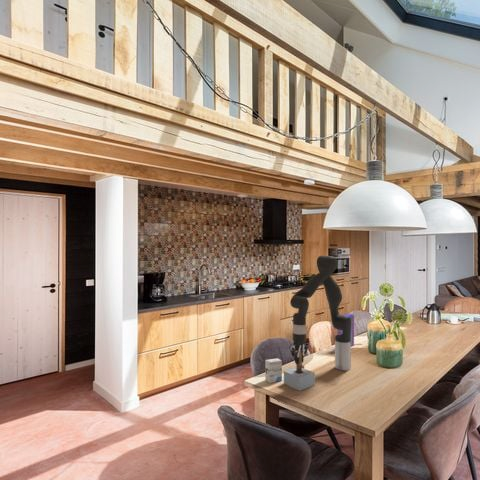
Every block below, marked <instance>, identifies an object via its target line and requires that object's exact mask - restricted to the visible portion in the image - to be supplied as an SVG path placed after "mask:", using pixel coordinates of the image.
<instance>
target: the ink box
mask: <svg viewBox="0 0 480 480" xmlns="http://www.w3.org/2000/svg"><path fill="white" fill-rule="evenodd" d="M264 363H265V365H264V366H265V373H264V375H265V378H264V379H265V381H266V382H267V383H269V384H270V383H277V382H282V381H283V380H282V378H283V375H282V374H283V372H282V371H283V361H282V360H281V359H280V358H277V357H276V358H270V359H265V361H264Z"/></svg>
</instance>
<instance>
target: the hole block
mask: <svg viewBox="0 0 480 480" xmlns="http://www.w3.org/2000/svg"><path fill="white" fill-rule="evenodd" d="M315 373H316V372H314V371H311V370H309V369H305V367H304V368H302V373H301V374H298V373H296V367H293V368H290V369H286V370H283V384H284V385H285V386H288V387H291V388H292V389H295V390H297V391H299V392H300V391H303V390H305V389H306V390H307V389H308V388H312V387H314V386H315V385H316V384H315V382H316V381H315V379H316V378H315V377H316V374H315Z"/></svg>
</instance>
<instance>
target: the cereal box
mask: <svg viewBox="0 0 480 480" xmlns="http://www.w3.org/2000/svg"><path fill="white" fill-rule="evenodd" d="M343 315H344V316H349V317H350V318H351V338H350V348H352V347H354V346H355V314H353V313H347V314H343ZM336 330H337V331H336V332H337V335H339V334H342V332H343V330H339V329H336Z"/></svg>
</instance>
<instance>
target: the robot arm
mask: <svg viewBox="0 0 480 480" xmlns="http://www.w3.org/2000/svg"><path fill="white" fill-rule="evenodd" d="M338 263H339V262H338V259H337V258H336V257H335V256H333V255H331V256H330V255H319V256H318V257H317V259H316V267H317V270H318V273H317V274H315V275H313V276H312V277H310V278H309V279H308V280H307V281H306V283H305V284H304V285H303V287H302V288H301V289H300V290H298V291H297V292H295V293H294V295H292V296H291V299H290V303H289V304H290V306H291V308H293V309H297V310H298V311H297V312H295V313H293V317H292V341H293V344H292V345H290V346H289V350H290V354H291V356H292V357H294V364H299V353H300V351H302V364H303V363H304V359H305V358H304V356H305V355H307V353H308V348H309V345H310V344H309V343H307V342H306V341H307V323H306V321H307V319H306V318H307V314H308V311H309V307H310V306H309V305H310V303H309V300H308V299H309V298H312V297H313V296H314V294H315V293H316V292H317V290H318V289H319V287H320V286H321V285H322V284H323V287H324V291H325V296H326V300H327V304H328V306H329V312H330V319H331V324H332V327H333V328H334V329H335V330H337V329H339V330H343V332H342V334H339V335H335V337H334V368H335V370H336V369H337V370H338V371H350V370H351V368H352V353H351V347H350V338H351V318H350V317H349V316H344V315H345V314H343V315H342V314H340V313H339V308H340V307H339V306H340V304H341V303H342V300H343V294H342V291H341V287H340V285H339V284H338V282H337V281H336V280H335V279H334V277H332V274H333V273H334V272H335V270H336V269H337V268H338V265H339V264H338ZM296 353H297V355H296Z"/></svg>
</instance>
